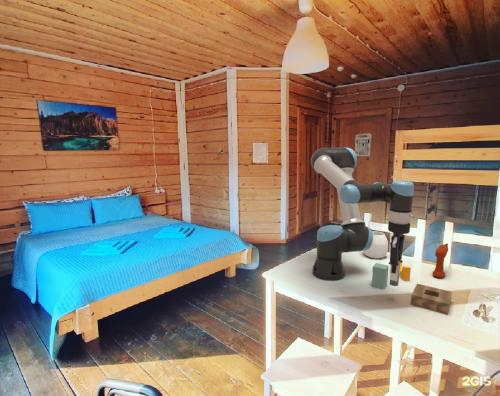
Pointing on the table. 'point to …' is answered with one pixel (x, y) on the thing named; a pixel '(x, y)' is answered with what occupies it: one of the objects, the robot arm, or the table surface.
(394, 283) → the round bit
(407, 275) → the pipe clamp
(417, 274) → the table surface
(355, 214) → the robot arm
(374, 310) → the table surface
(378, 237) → the white round pot
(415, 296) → the socket block
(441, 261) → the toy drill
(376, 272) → the grey-green rectangular block
